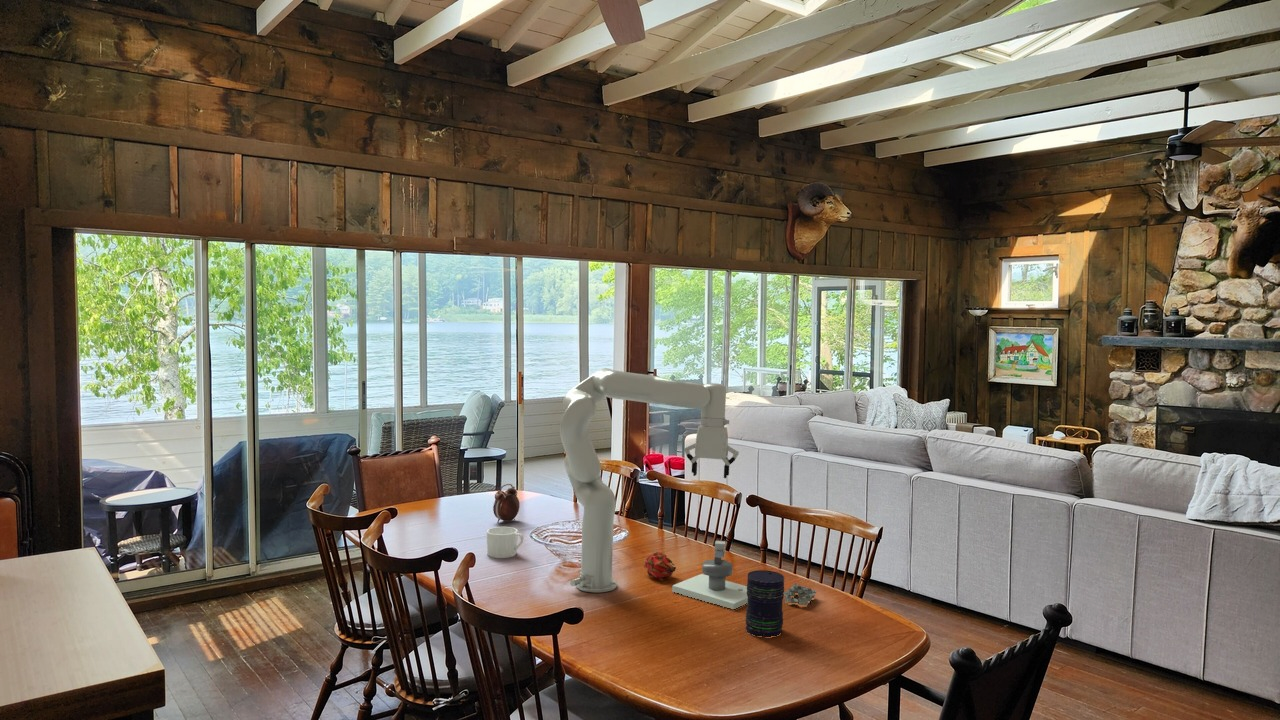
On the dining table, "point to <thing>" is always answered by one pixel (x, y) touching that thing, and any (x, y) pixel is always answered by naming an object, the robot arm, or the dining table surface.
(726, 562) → the grey lever knob
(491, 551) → the mug
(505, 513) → the alarm clock
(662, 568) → the dragon fruit
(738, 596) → the base
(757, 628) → the storage jar
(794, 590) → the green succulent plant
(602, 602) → the dining table surface
